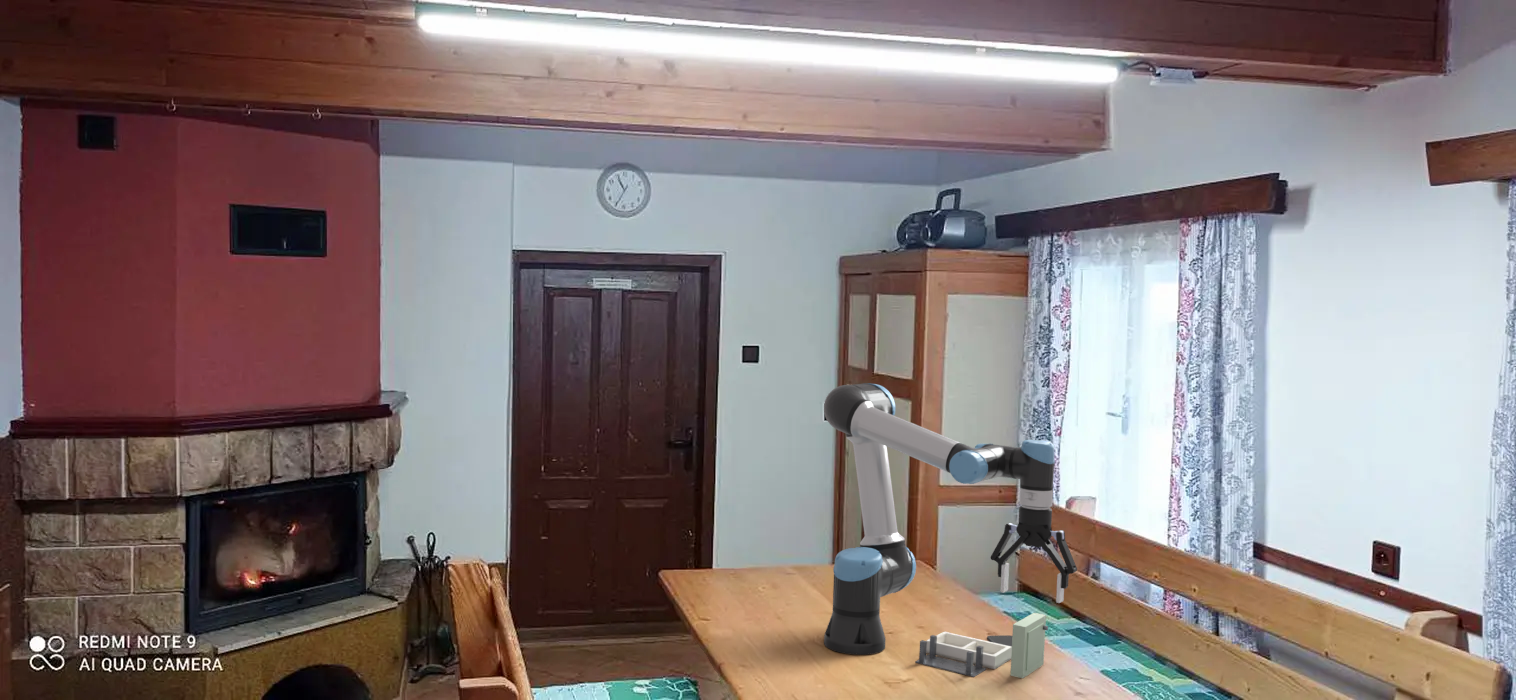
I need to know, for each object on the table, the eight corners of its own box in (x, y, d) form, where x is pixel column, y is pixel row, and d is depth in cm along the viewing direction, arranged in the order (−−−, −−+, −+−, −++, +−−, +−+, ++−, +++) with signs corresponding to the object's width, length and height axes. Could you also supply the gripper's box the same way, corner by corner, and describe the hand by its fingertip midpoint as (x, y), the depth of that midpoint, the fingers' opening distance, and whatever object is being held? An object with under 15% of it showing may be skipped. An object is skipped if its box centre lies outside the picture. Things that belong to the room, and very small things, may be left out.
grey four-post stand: (915, 662, 260) (916, 640, 260) (928, 655, 266) (929, 633, 266) (973, 677, 252) (974, 654, 252) (986, 669, 258) (987, 647, 257)
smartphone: (1007, 655, 268) (985, 635, 282) (1007, 659, 268) (985, 638, 283) (1036, 654, 269) (1012, 635, 284) (1036, 658, 269) (1012, 638, 284)
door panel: (1027, 679, 252) (1030, 628, 251) (1010, 675, 254) (1013, 624, 254) (1048, 665, 262) (1050, 616, 262) (1031, 661, 265) (1033, 612, 264)
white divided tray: (925, 652, 268) (926, 640, 268) (943, 643, 276) (944, 631, 276) (994, 669, 258) (995, 656, 258) (1011, 658, 266) (1011, 646, 266)
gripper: (979, 501, 261) (975, 590, 262) (1082, 516, 247) (1078, 609, 247) (992, 497, 267) (988, 584, 268) (1093, 511, 253) (1089, 602, 254)
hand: (1031, 596), depth 258 cm, fingers open, 13 cm apart
